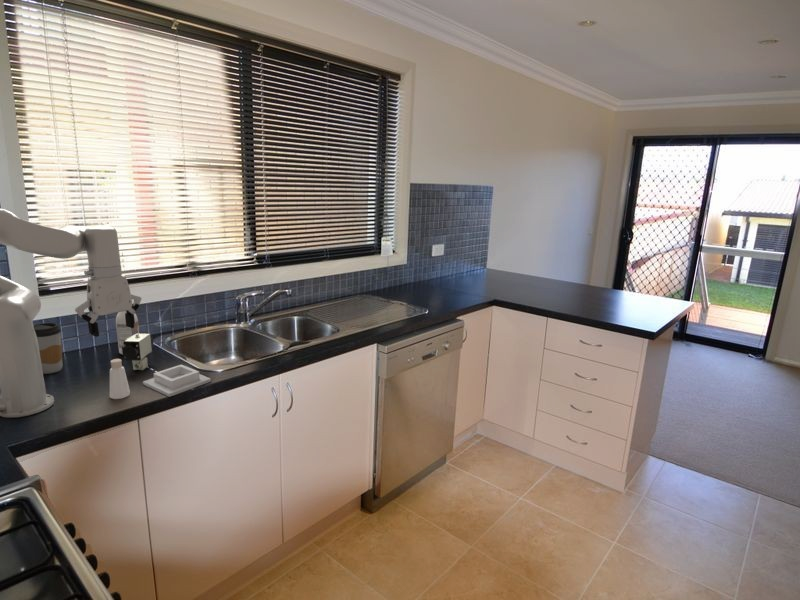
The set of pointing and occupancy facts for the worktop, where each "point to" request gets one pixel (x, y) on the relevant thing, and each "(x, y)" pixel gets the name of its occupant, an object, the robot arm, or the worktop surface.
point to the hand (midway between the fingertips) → (113, 331)
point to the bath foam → (124, 329)
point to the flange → (176, 380)
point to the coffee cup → (49, 346)
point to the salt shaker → (118, 380)
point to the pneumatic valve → (138, 349)
